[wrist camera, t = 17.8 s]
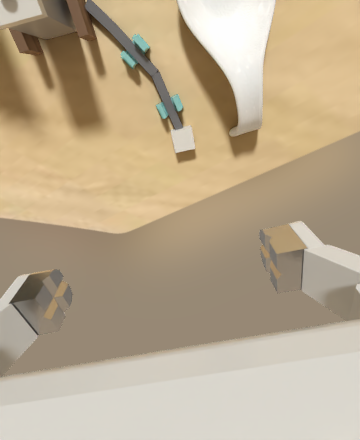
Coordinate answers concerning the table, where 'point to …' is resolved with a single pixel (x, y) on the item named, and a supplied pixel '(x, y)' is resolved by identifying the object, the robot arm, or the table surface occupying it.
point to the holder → (81, 21)
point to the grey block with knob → (37, 17)
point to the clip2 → (140, 45)
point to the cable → (180, 134)
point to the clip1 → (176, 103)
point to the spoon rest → (235, 48)
